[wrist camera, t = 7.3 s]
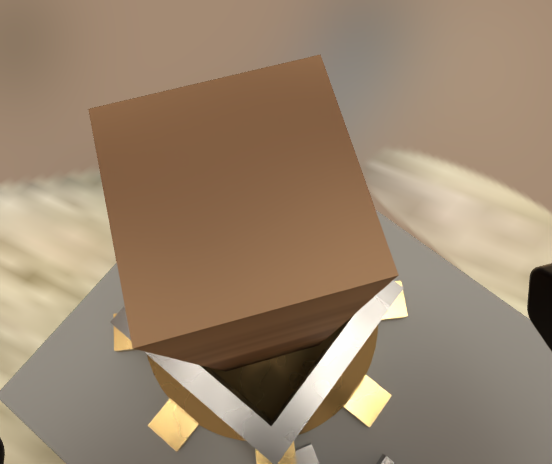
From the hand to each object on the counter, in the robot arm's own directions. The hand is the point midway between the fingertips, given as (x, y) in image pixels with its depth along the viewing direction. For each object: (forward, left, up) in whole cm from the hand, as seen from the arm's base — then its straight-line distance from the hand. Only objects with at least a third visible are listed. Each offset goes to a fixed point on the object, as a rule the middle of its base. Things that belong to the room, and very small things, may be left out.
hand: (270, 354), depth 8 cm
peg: (+1, +2, -11) cm, 11 cm away
